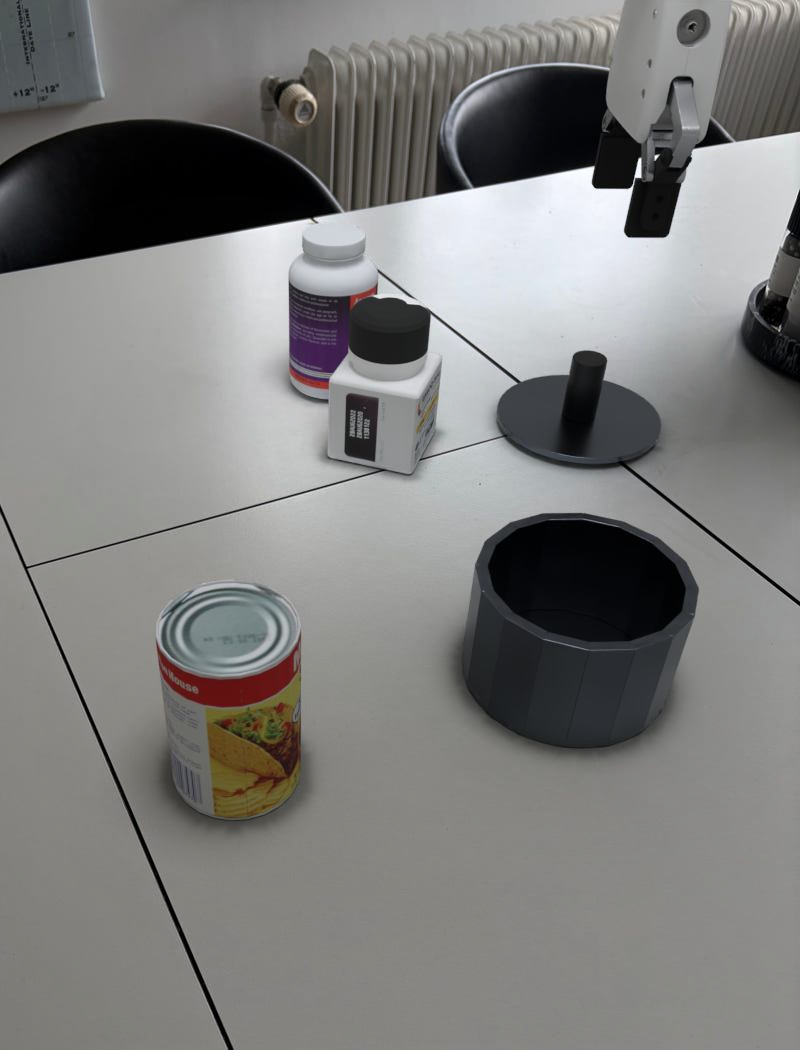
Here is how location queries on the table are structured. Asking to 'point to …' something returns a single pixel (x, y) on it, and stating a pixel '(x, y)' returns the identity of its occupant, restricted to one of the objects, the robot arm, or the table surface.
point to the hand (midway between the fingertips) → (627, 210)
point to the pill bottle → (325, 301)
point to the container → (385, 386)
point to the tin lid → (579, 415)
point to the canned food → (232, 696)
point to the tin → (576, 627)
